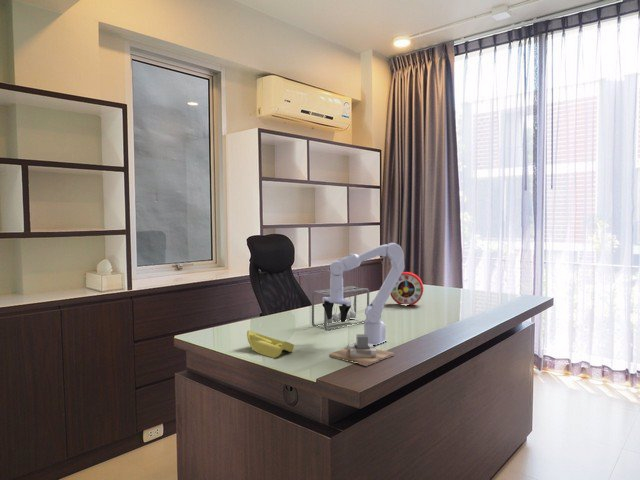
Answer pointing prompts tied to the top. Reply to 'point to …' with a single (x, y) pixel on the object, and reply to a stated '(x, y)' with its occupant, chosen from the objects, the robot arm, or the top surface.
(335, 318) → the newton's cradle
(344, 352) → the duct base
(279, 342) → the plastic component
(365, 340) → the grey rectangular block
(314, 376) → the top surface
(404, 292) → the toy clock
